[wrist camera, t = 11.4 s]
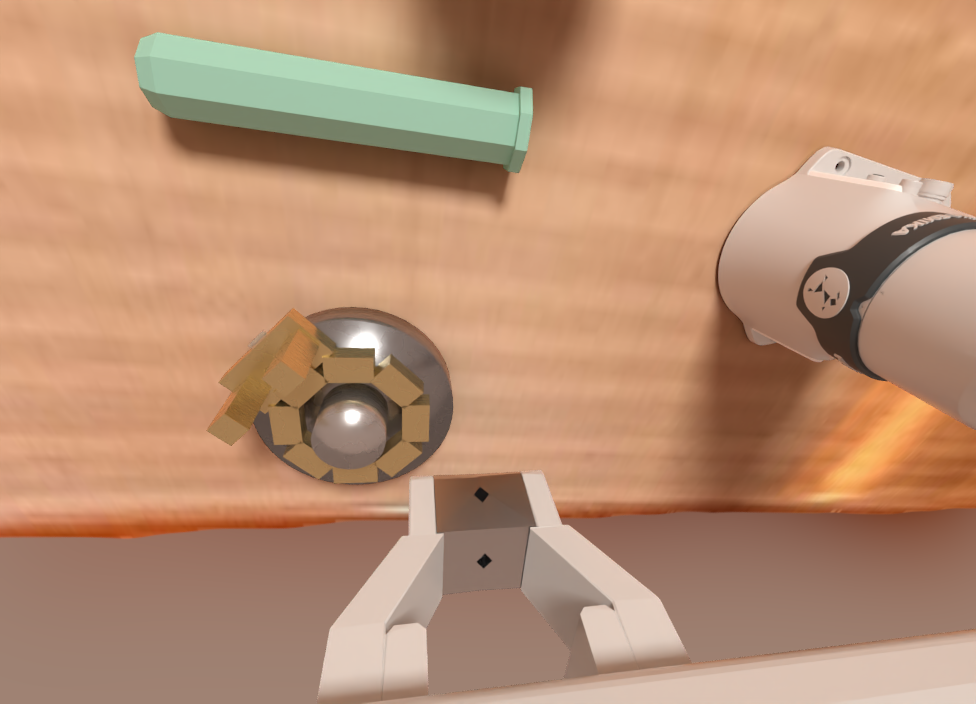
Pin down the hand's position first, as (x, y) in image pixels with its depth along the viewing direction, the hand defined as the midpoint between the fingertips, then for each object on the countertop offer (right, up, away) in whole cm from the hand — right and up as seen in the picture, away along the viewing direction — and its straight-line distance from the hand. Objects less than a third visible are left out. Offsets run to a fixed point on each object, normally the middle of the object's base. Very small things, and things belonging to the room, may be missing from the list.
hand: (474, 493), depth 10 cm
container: (-10, +22, +23) cm, 33 cm away
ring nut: (-13, -1, +30) cm, 33 cm away
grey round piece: (-12, -1, +34) cm, 36 cm away
